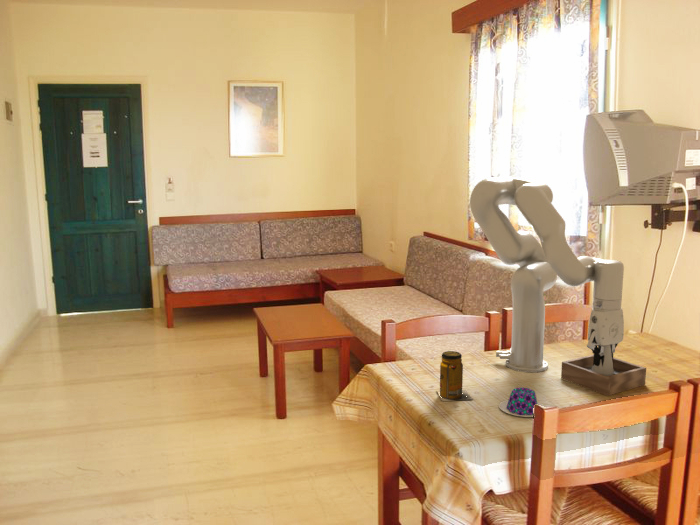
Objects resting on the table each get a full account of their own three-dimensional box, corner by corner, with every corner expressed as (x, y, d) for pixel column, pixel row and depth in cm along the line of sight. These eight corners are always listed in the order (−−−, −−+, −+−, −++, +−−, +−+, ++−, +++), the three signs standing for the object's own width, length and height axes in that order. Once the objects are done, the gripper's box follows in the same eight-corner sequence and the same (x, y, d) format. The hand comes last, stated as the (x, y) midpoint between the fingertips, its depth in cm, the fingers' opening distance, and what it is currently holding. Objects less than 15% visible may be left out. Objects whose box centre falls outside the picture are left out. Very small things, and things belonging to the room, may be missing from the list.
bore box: (607, 395, 181) (608, 378, 180) (561, 378, 194) (561, 361, 193) (645, 384, 189) (646, 367, 188) (598, 369, 202) (599, 353, 201)
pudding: (494, 415, 169) (495, 395, 168) (503, 398, 180) (504, 380, 179) (543, 422, 164) (544, 402, 163) (549, 405, 175) (550, 386, 174)
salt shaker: (614, 383, 188) (617, 338, 186) (593, 381, 189) (596, 337, 187) (610, 376, 194) (613, 332, 191) (590, 374, 195) (592, 331, 192)
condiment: (435, 391, 184) (436, 350, 182) (465, 390, 185) (466, 348, 183) (442, 401, 177) (442, 358, 175) (473, 400, 178) (474, 357, 176)
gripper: (598, 310, 180) (594, 375, 183) (637, 303, 188) (632, 365, 192) (576, 304, 187) (572, 367, 190) (614, 297, 195) (610, 358, 198)
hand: (602, 366), depth 191 cm, fingers closed on salt shaker, 3 cm apart
